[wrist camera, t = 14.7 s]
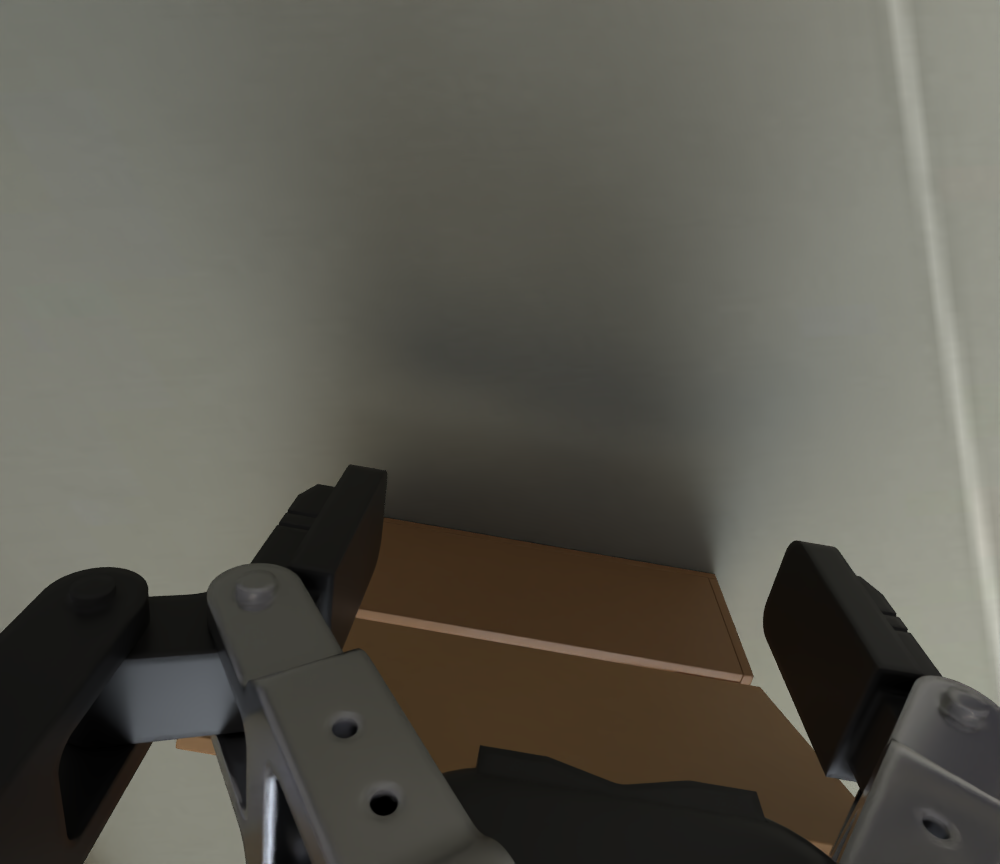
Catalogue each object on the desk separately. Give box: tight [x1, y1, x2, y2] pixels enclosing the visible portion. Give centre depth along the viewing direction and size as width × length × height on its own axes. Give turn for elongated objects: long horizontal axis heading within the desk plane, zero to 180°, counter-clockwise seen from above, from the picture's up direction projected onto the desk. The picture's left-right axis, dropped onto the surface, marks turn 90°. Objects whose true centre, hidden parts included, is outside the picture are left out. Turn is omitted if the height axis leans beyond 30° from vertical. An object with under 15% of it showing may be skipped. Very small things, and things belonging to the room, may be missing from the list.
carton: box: [355, 517, 753, 685], centre depth 24 cm, size 14×13×5 cm
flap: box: [176, 618, 855, 855], centre depth 15 cm, size 7×12×1 cm
